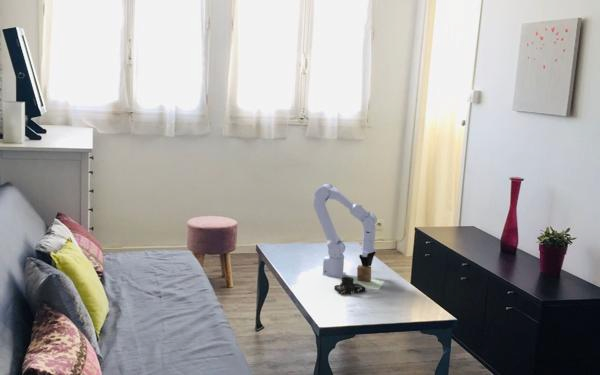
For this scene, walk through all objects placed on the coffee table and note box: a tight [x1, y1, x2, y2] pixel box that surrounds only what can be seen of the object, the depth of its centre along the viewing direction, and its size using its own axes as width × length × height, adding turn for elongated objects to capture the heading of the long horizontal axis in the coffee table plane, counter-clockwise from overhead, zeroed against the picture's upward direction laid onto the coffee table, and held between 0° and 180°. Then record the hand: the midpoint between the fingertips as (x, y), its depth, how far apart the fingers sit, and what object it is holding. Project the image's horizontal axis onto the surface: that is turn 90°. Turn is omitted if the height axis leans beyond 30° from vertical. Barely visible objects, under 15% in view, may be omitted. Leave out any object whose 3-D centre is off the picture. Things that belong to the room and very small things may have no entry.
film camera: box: [333, 276, 367, 296], centre depth 280 cm, size 13×8×10 cm
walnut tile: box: [356, 264, 372, 282], centre depth 294 cm, size 6×2×7 cm, turn 71°
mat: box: [346, 275, 386, 291], centre depth 292 cm, size 18×14×1 cm
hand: (366, 268), depth 298 cm, fingers open, 7 cm apart
